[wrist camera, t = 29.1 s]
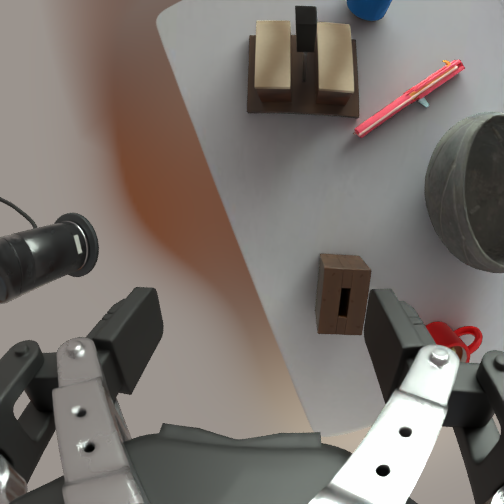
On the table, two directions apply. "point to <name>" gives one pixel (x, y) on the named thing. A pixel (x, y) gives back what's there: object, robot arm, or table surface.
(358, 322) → the knife block
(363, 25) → the table surface
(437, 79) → the pink plastic rod
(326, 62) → the slotted block
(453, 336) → the mug
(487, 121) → the bowl
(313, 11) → the black block with pin
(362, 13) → the beverage can
